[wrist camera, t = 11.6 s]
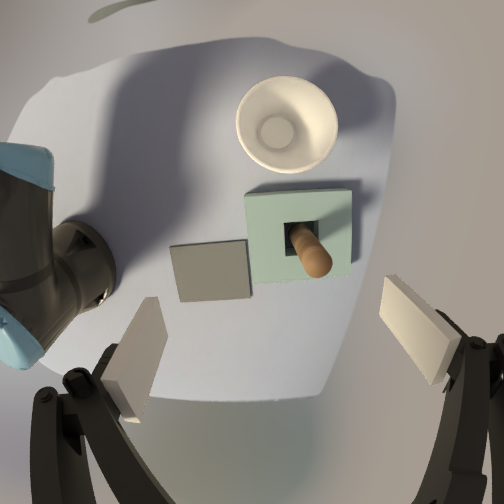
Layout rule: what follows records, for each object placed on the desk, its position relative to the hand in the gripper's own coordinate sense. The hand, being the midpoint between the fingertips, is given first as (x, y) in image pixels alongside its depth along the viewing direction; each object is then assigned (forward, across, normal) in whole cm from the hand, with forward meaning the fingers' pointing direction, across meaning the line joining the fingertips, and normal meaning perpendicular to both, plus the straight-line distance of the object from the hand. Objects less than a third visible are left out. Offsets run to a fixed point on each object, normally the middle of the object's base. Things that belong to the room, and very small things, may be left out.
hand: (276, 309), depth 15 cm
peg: (+24, +6, -3) cm, 25 cm away
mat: (+24, -7, -8) cm, 27 cm away
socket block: (+24, +6, -3) cm, 25 cm away
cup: (+24, +4, +11) cm, 27 cm away
